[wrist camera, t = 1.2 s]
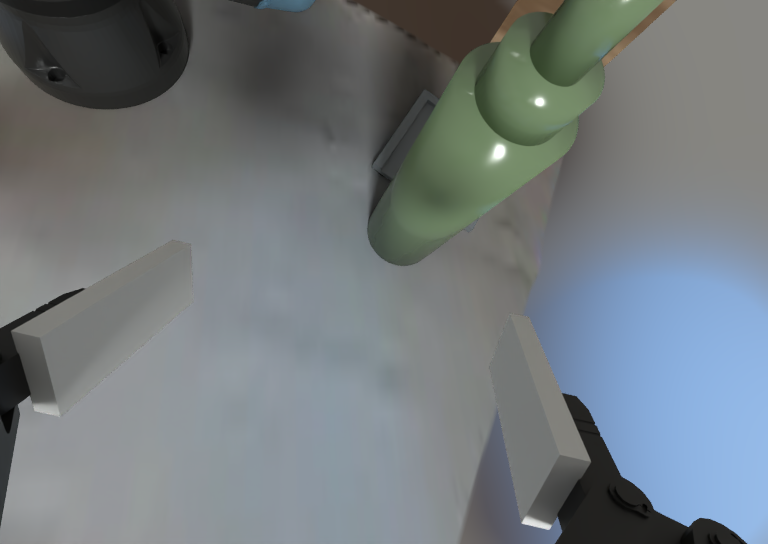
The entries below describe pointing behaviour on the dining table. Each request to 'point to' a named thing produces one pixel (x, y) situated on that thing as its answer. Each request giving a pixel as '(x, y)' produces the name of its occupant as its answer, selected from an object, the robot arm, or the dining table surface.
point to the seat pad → (407, 138)
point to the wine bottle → (500, 123)
